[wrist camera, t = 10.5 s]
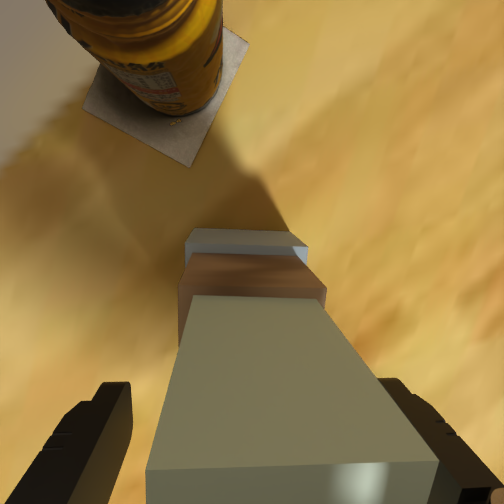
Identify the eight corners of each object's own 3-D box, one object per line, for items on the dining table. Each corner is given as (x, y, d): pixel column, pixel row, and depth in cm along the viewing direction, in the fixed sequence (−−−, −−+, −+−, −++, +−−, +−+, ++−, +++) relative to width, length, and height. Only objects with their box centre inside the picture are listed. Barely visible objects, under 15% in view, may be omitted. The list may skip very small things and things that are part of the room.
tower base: (289, 231, 21) (308, 246, 16) (281, 316, 23) (296, 353, 18) (194, 227, 21) (184, 242, 16) (193, 315, 22) (185, 353, 17)
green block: (316, 298, 12) (439, 460, 5) (302, 400, 13) (386, 641, 6) (193, 295, 11) (145, 469, 4) (190, 401, 12) (149, 665, 6)
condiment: (249, 45, 18) (293, -199, 6) (190, 168, 19) (136, 155, 8) (139, -30, 16) (-69, -525, 5) (84, 109, 18) (-173, -13, 6)
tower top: (297, 255, 16) (326, 288, 12) (288, 347, 18) (311, 409, 13) (192, 252, 16) (178, 285, 11) (192, 347, 17) (179, 412, 13)
